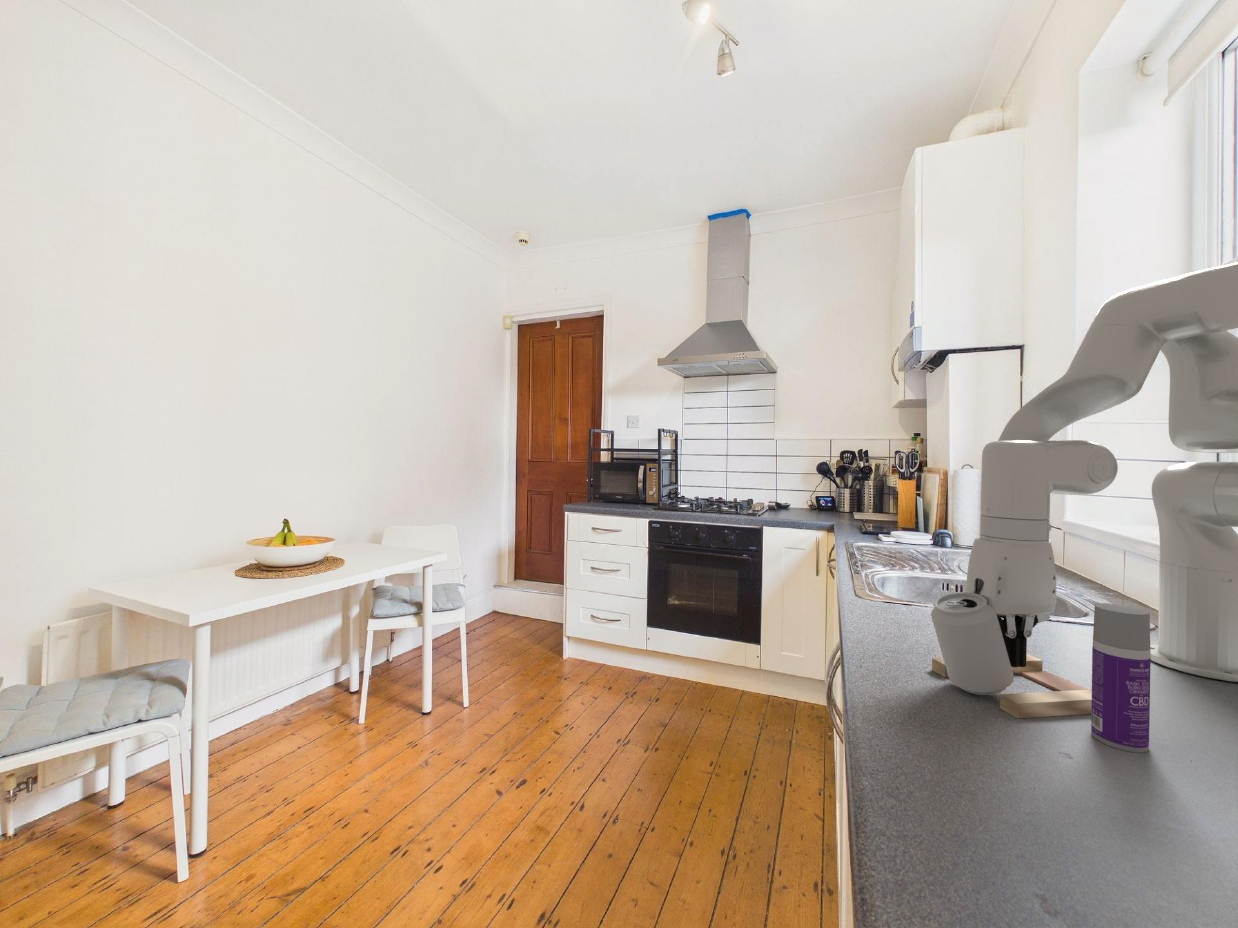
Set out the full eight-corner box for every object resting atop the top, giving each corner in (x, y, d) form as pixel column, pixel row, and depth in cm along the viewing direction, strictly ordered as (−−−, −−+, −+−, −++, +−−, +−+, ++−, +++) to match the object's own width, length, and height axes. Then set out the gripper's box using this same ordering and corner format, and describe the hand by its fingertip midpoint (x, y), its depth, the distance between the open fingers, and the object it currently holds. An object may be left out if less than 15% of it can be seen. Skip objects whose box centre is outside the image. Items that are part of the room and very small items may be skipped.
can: (1028, 692, 66) (1004, 604, 65) (964, 702, 67) (940, 617, 67) (997, 663, 73) (975, 584, 72) (941, 673, 75) (919, 596, 74)
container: (1138, 757, 55) (1141, 617, 54) (1083, 735, 59) (1085, 605, 59) (1156, 745, 57) (1158, 611, 57) (1101, 726, 61) (1103, 600, 61)
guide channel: (1027, 665, 79) (1027, 653, 79) (1131, 711, 65) (1131, 697, 65) (931, 669, 77) (932, 658, 77) (1017, 718, 63) (1017, 703, 63)
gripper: (1036, 527, 75) (1033, 651, 75) (943, 526, 73) (940, 654, 73) (1089, 534, 67) (1086, 672, 68) (987, 534, 66) (984, 676, 66)
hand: (1010, 663), depth 70 cm, fingers closed
